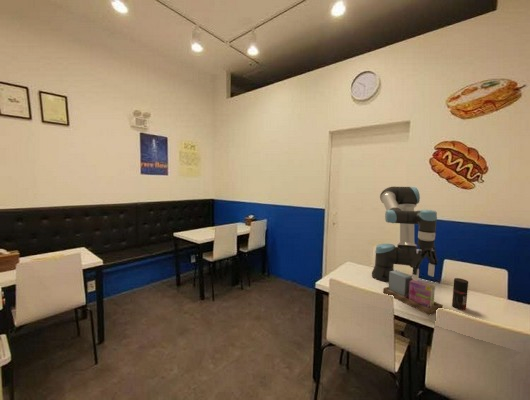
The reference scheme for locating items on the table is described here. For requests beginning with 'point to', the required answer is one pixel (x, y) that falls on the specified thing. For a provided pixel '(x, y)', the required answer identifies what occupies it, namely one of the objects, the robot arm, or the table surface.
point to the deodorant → (460, 294)
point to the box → (422, 293)
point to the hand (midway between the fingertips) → (423, 278)
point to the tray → (416, 305)
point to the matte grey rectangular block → (399, 282)
